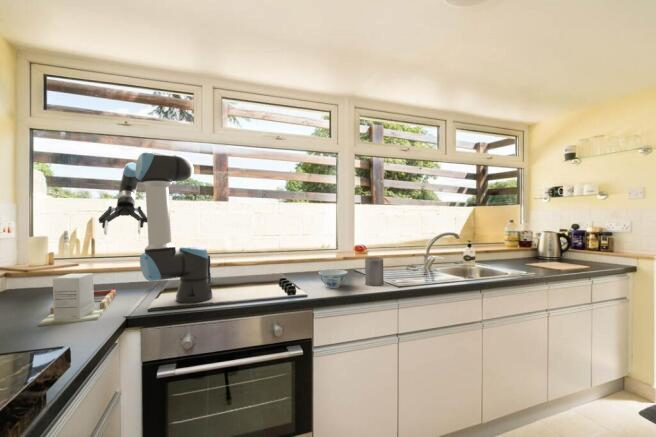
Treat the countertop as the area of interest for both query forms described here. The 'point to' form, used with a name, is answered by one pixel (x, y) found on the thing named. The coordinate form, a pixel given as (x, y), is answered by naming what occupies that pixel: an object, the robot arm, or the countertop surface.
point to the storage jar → (209, 270)
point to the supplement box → (73, 296)
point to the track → (99, 296)
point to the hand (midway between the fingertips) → (122, 232)
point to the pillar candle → (374, 271)
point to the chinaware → (333, 277)
